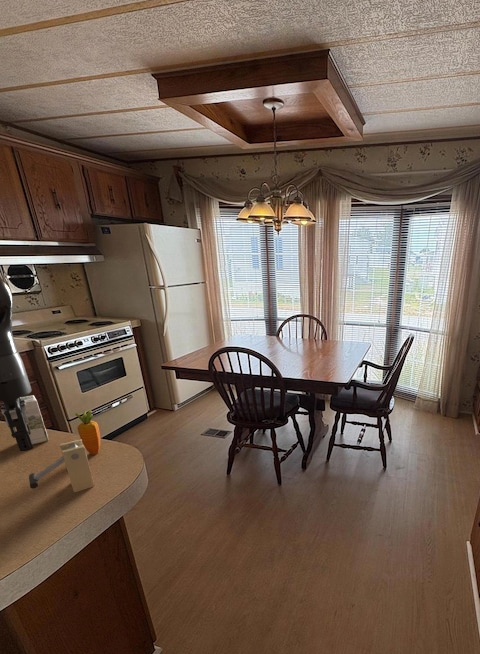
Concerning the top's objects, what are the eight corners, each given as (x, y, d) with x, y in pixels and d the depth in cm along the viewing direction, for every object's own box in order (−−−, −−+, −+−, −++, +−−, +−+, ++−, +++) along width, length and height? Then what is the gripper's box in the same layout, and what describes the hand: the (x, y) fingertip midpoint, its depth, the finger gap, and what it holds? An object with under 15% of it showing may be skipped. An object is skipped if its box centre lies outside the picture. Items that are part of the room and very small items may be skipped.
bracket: (67, 501, 83) (52, 456, 78) (63, 487, 88) (50, 444, 83) (104, 489, 88) (93, 446, 83) (99, 476, 93) (88, 435, 88)
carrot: (81, 460, 100) (68, 413, 94) (94, 451, 105) (83, 406, 99) (96, 462, 99) (84, 415, 94) (109, 453, 104) (98, 408, 98)
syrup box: (46, 434, 113) (33, 394, 107) (49, 441, 109) (36, 399, 104) (24, 440, 109) (9, 398, 104) (26, 447, 105) (11, 404, 100)
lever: (35, 490, 79) (26, 485, 78) (34, 480, 83) (25, 475, 81) (84, 455, 84) (76, 449, 82) (81, 446, 87) (73, 440, 85)
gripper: (-21, 369, 74) (3, 435, 80) (-24, 387, 64) (4, 461, 70) (24, 363, 78) (44, 426, 85) (27, 380, 68) (49, 450, 75)
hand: (26, 442), depth 77 cm, fingers open, 8 cm apart
